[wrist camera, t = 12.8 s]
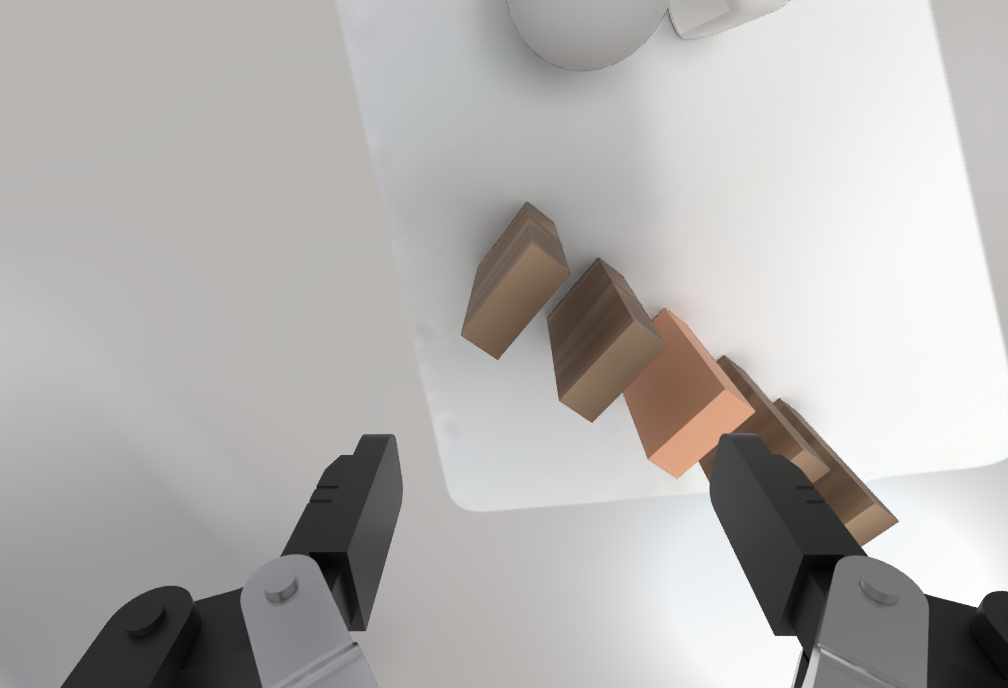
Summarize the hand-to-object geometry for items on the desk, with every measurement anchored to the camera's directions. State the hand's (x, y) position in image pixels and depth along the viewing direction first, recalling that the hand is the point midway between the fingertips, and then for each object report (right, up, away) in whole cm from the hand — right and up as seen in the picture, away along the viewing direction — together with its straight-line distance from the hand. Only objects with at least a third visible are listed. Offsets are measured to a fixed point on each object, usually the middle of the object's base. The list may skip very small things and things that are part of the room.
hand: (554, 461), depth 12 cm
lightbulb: (+2, +20, +12) cm, 23 cm away
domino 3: (+8, +3, +20) cm, 22 cm away
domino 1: (-1, +9, +17) cm, 20 cm away
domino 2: (+4, +6, +19) cm, 20 cm away
